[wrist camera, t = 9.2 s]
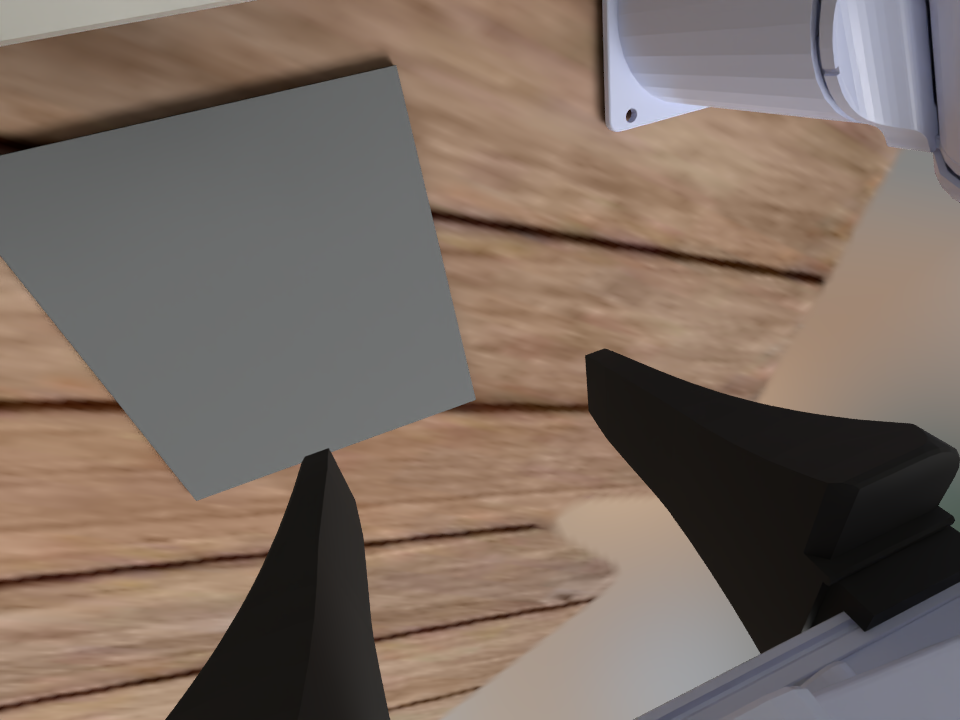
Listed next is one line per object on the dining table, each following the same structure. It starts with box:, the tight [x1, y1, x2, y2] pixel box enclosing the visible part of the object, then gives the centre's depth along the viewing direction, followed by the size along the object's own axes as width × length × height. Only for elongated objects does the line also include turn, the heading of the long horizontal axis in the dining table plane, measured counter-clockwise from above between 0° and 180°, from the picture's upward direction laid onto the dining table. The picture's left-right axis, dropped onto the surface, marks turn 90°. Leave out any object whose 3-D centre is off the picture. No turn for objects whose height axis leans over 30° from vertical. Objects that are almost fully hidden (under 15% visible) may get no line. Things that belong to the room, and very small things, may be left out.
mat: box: [0, 65, 476, 501], centre depth 20 cm, size 14×15×1 cm
